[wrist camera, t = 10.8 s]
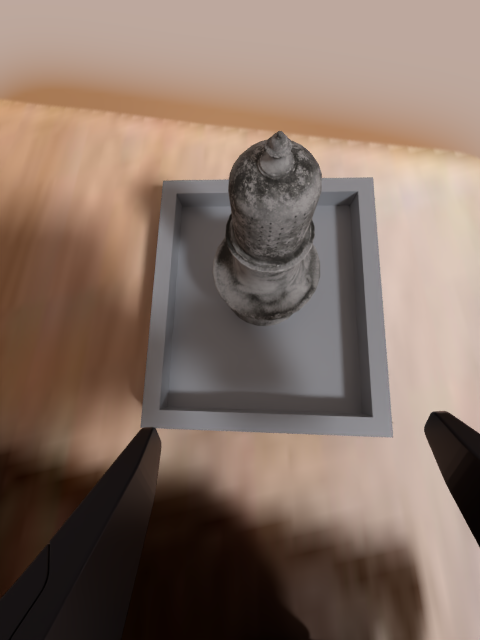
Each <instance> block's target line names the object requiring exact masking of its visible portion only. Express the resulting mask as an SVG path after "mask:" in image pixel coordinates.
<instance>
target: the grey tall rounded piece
mask: <svg viewBox="0 0 480 640" xmlns="http://www.w3.org/2000/svg"><path fill="white" fill-rule="evenodd" d="M321 190H322V173H321V170H320V167H319V164H318V163H317V161H316V160H315V158H314V157H313V155H312V154H311V153H310V152H309V151H308V150H307V149H306V148H304V147H303V146H302V145H300V144H298V143H296V142H294V141H291V140H290V139H289V138H288V137H287V136H286V135H285V134H284V133H283V132H282V131H278V132H277V133H275V134H274V135H273V136H272V137H270V138H269V139H268V140H264V141H261V142H258V143H256V144H254V145H252V146H251V147H250V148H248V149H247V150H246V151H245V152H244V153H242V154H241V155H240V156H239V158H238V159H237V160H236V162H235V163H234V165H233V167H232V170H231V172H230V177H229V186H228V193H229V200H230V207H231V214H230V216H229V219H228V221H227V224H226V233H225V238H224V239H223V241H222V242H221V243H220V245H219V246H218V248H217V251H216V254H215V257H214V259H213V272H212V273H213V278H214V283H215V286H216V288H217V290H218V292H219V294H220V296H221V298H222V299H223V300H224V301H225V302H226V303H227V305H228V306H229V307H230V308H231V310H232V311H233V312H234V313H235V314H236V315H237V316H238V317H239V318H240V319H242V320H244V321H245V322H247V323H250V324H253V325H256V326H271V325H275V324H279V323H281V322H283V321H285V320H287V319H288V318H289V317H290V316H291V315H292V314H293V313H295V312H297V311H299V310H300V309H301V308H302V307H303V306H304V305H305V304H306V303H307V302H308V301H309V300H310V299H311V297H312V295H313V294H314V292H315V291H316V289H317V285H318V282H319V278H320V260H319V257H318V253H317V250H316V248H315V246H314V245H313V241H314V238H315V226H314V223H313V220H312V217H313V214H314V212H315V209H316V206H317V203H318V201H319V197H320V194H321Z"/></svg>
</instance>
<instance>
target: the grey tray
mask: <svg viewBox="0 0 480 640" xmlns="http://www.w3.org/2000/svg"><path fill="white" fill-rule="evenodd" d="M228 186H229V180H175V181H163V188H162V198H161V209H160V220H159V231H158V242H157V253H156V264H155V275H154V286H153V297H152V308H151V319H150V330H149V340H148V351H147V362H146V373H145V384H144V395H143V406H142V417H141V428H144V427H154V428H164V429H190V430H215V431H241V432H266V433H292V434H317V435H343V436H368V437H393V429H392V417H391V404H390V391H389V378H388V365H387V352H386V339H385V327H384V314H383V301H382V288H381V275H380V262H379V249H378V237H377V224H376V211H375V198H374V185H373V178H322V190H321V194H320V197H319V201H318V203H317V206H316V209H315V212H314V214H313V217H312V220H313V223H314V226H315V238H314V241H313V245H314V246H315V248H316V250H317V253H318V257H319V260H320V278H319V282H318V285H317V289H316V291H315V292H314V294H313V295H312V297H311V299H310V300H309V301H308V302H307V303H306V304H305V305H304V306H303V307H302V308H301V309H300V310H299V311H297V312H295V313H293V314H292V315H291V316H290V317H289V318H288V319H287V320H285V321H283V322H281V323H279V324H275V325H271V326H256V325H253V324H250V323H247V322H245V321H244V320H242V319H240V318H239V317H238V316H237V315H236V314H235V313H234V312H233V311H232V310H231V308H230V307H229V306H228V305H227V303H226V302H225V301H224V300H223V299H222V298H221V296H220V294H219V292H218V290H217V288H216V286H215V283H214V278H213V273H212V272H213V259H214V257H215V254H216V251H217V248H218V246H219V245H220V243H221V242H222V241H223V239H224V238H225V233H226V224H227V221H228V219H229V216H230V214H231V207H230V200H229V193H228Z"/></svg>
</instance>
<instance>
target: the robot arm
mask: <svg viewBox="0 0 480 640" xmlns="http://www.w3.org/2000/svg"><path fill="white" fill-rule="evenodd" d="M424 432H425V435H426V438H427V440H428V442H429V445H430V447H431V450H432V452H433V454H434V457H435V459H436V462H437V464H438V466H439V469H440V471H441V474H442V476H443V478H444V480H445V483H446V485H447V487H448V489H449V491H450V492H451V494H452V496H453V498H454V500H455V502H456V504H457V506H458V507H459V509H460V511H461V513H462V515H463V517H464V519H465V521H466V522H467V524H468V526H469V528H470V530H471V532H472V534H473V536H474V537H475V539H476V541H477V543H478V545H479V547H480V434H479V433H478V432H476V431H475V430H474V429H472V428H471V427H469V426H468V425H466V424H465V423H463V422H462V421H461V420H459V419H458V418H456V417H455V416H453V415H452V414H450V413H449V412H446V411H435V412H432V413H431V414H430V416H429V418H428V420H427V422H426V424H425V427H424ZM160 454H161V440H160V438H159V435H158V433H157V430H156V428H154V427H144V428H142V429H141V430H140V431H139V432H138V433H137V435H136V436H135V437H134V438H133V439H132V441H131V442H130V443H129V444H128V446H127V447H126V448H125V449H124V451H123V452H122V453H121V454H120V455H119V457H118V458H117V459H116V460H115V462H114V463H113V464H112V465H111V466H110V468H109V469H108V470H107V471H106V473H105V474H104V475H103V476H102V477H101V479H100V480H99V481H98V482H97V484H96V485H95V486H94V487H93V489H92V490H91V491H90V492H89V493H88V495H87V496H86V497H85V498H84V500H83V501H82V502H81V503H80V504H79V506H78V507H77V508H76V509H75V511H74V512H73V513H72V514H71V515H70V517H69V518H68V519H67V520H66V522H65V523H64V524H63V525H62V527H61V528H60V529H59V530H58V531H57V533H56V534H55V535H54V536H53V538H52V539H51V540H50V543H48V544H47V545H46V546H45V547H44V548H43V550H42V551H41V552H40V553H39V555H38V556H37V557H36V558H35V559H34V561H33V562H32V563H31V564H30V565H29V567H28V568H27V569H26V570H25V571H24V572H23V574H22V575H21V576H20V577H19V578H18V580H17V581H16V582H15V583H14V584H13V585H12V586H11V588H10V589H9V590H8V591H7V592H6V593H5V594H4V595H3V597H2V598H1V599H0V640H121V637H122V633H123V629H124V625H125V621H126V616H127V612H128V608H129V604H130V599H131V595H132V591H133V587H134V582H135V578H136V574H137V570H138V566H139V561H140V557H141V553H142V549H143V544H144V540H145V536H146V532H147V528H148V523H149V519H150V515H151V511H152V506H153V502H154V497H155V491H156V484H157V476H158V469H159V461H160Z"/></svg>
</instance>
